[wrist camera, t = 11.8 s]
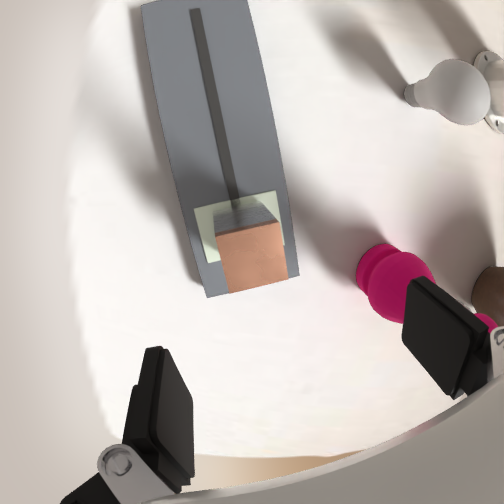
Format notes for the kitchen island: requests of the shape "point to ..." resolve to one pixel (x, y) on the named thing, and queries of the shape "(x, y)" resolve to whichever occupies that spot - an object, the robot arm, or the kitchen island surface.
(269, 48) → the kitchen island surface
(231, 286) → the fader knob
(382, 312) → the pepper mill
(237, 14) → the fader panel
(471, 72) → the lightbulb
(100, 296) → the kitchen island surface
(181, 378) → the robot arm
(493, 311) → the plant pot
